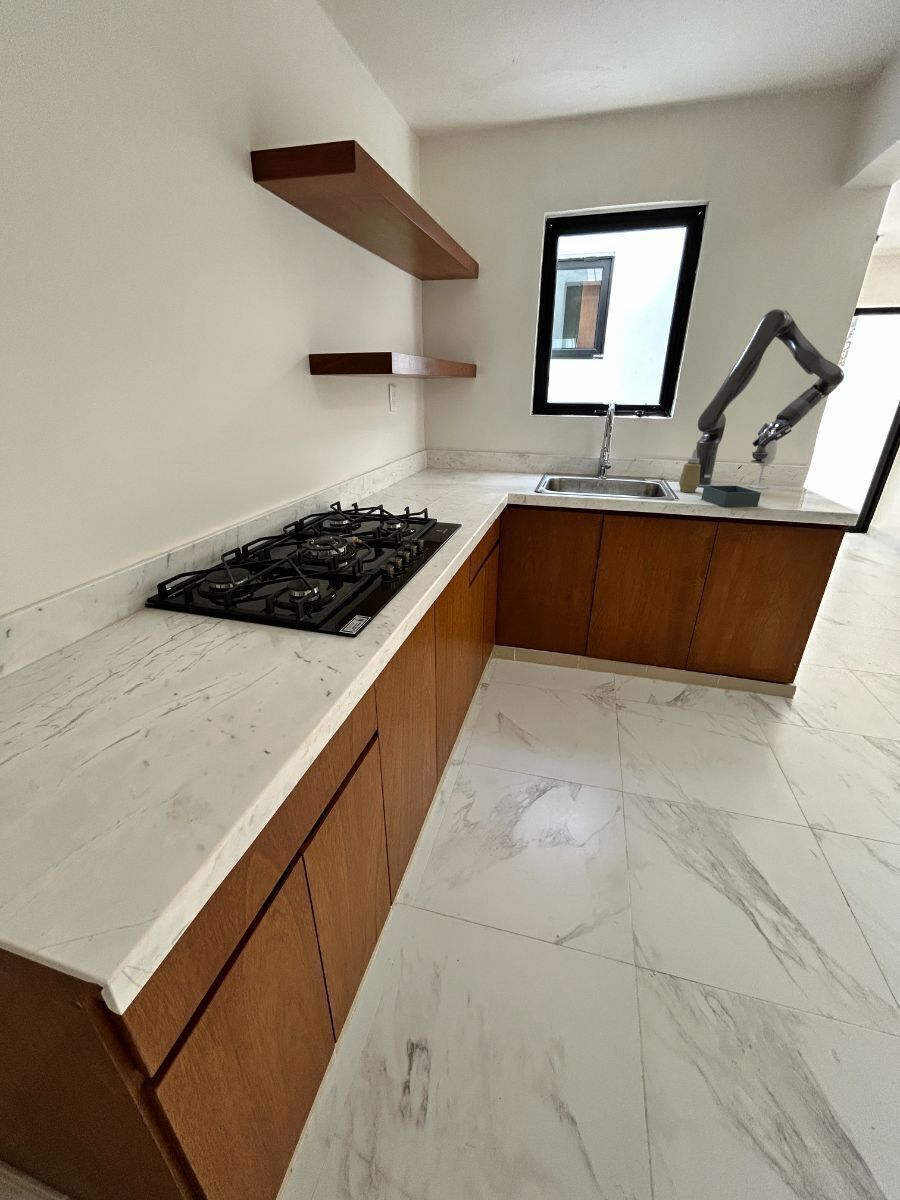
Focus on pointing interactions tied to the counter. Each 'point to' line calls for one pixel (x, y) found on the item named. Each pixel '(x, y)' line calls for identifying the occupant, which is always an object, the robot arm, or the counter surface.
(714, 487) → the bin
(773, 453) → the wineglass
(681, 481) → the squeeze bottle
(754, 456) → the salt shaker
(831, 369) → the robot arm
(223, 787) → the counter surface
